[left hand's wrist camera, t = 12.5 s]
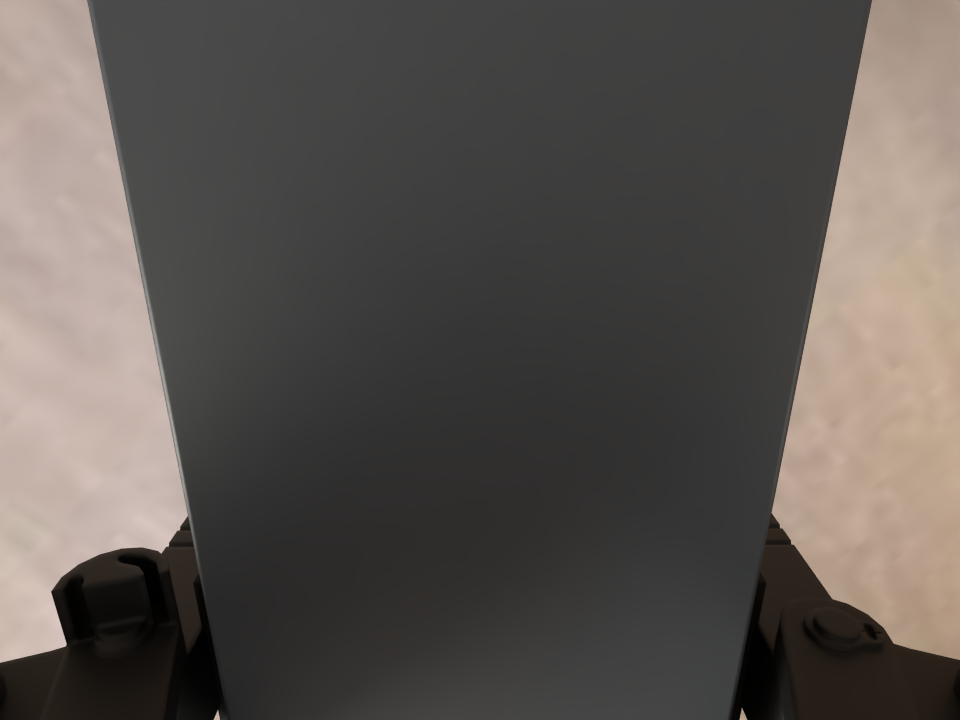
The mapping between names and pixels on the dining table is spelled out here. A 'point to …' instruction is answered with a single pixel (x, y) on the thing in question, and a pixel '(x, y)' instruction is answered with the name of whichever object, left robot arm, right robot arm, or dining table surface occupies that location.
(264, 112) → the bar
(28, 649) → the dining table surface
